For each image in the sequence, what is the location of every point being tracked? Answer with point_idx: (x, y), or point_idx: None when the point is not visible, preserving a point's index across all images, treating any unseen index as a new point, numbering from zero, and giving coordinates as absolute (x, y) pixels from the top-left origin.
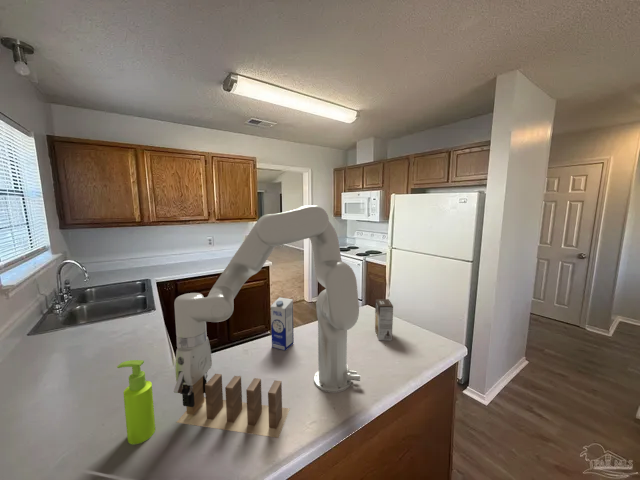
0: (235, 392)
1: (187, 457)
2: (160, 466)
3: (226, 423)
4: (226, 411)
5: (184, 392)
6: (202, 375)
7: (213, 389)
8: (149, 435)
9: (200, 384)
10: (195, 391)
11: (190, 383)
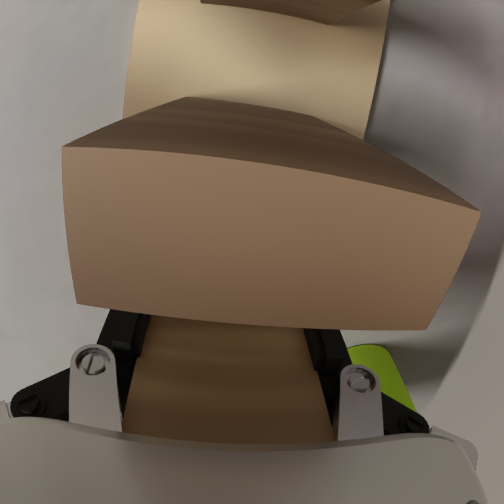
0: None
1: (486, 168)
2: (489, 246)
3: (343, 24)
4: (355, 11)
5: (417, 418)
6: (262, 465)
7: (385, 164)
8: (382, 355)
9: (183, 356)
10: (264, 349)
11: (471, 463)
